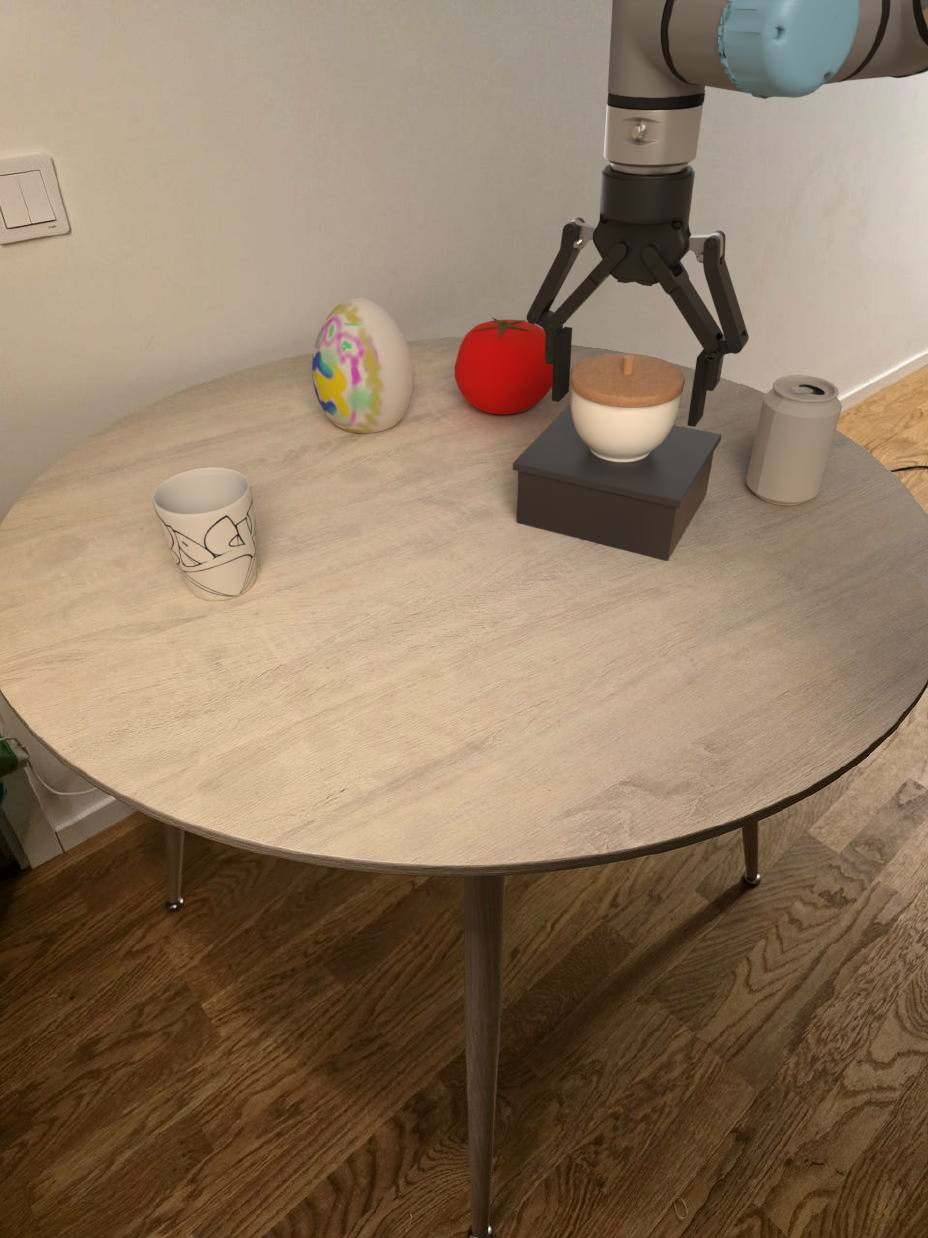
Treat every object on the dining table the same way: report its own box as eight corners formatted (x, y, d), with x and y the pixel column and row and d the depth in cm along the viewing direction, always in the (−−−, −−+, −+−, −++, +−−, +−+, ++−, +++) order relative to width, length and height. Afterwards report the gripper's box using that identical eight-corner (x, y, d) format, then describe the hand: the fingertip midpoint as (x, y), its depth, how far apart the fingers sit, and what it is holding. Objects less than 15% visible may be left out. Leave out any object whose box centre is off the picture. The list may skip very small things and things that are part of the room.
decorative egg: (299, 419, 109) (281, 299, 100) (376, 390, 115) (366, 275, 106) (357, 452, 102) (344, 325, 93) (436, 419, 108) (431, 298, 99)
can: (832, 497, 92) (863, 390, 84) (781, 516, 89) (808, 407, 81) (779, 468, 97) (804, 364, 89) (729, 486, 94) (750, 380, 87)
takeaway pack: (711, 493, 93) (721, 434, 88) (670, 564, 83) (680, 501, 78) (565, 461, 99) (569, 404, 95) (511, 523, 89) (512, 462, 84)
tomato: (436, 408, 111) (433, 322, 104) (506, 378, 118) (507, 296, 111) (505, 437, 104) (506, 347, 97) (573, 403, 111) (579, 317, 104)
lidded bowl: (543, 447, 87) (547, 356, 81) (613, 415, 92) (622, 327, 87) (626, 485, 81) (637, 390, 75) (696, 448, 86) (711, 357, 80)
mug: (149, 566, 84) (121, 475, 78) (227, 535, 88) (207, 446, 82) (202, 621, 77) (177, 526, 71) (284, 584, 81) (267, 491, 75)
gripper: (491, 162, 73) (492, 400, 86) (797, 184, 63) (746, 448, 76) (527, 147, 78) (523, 373, 91) (815, 165, 68) (765, 415, 81)
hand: (625, 408), depth 84 cm, fingers open, 13 cm apart
